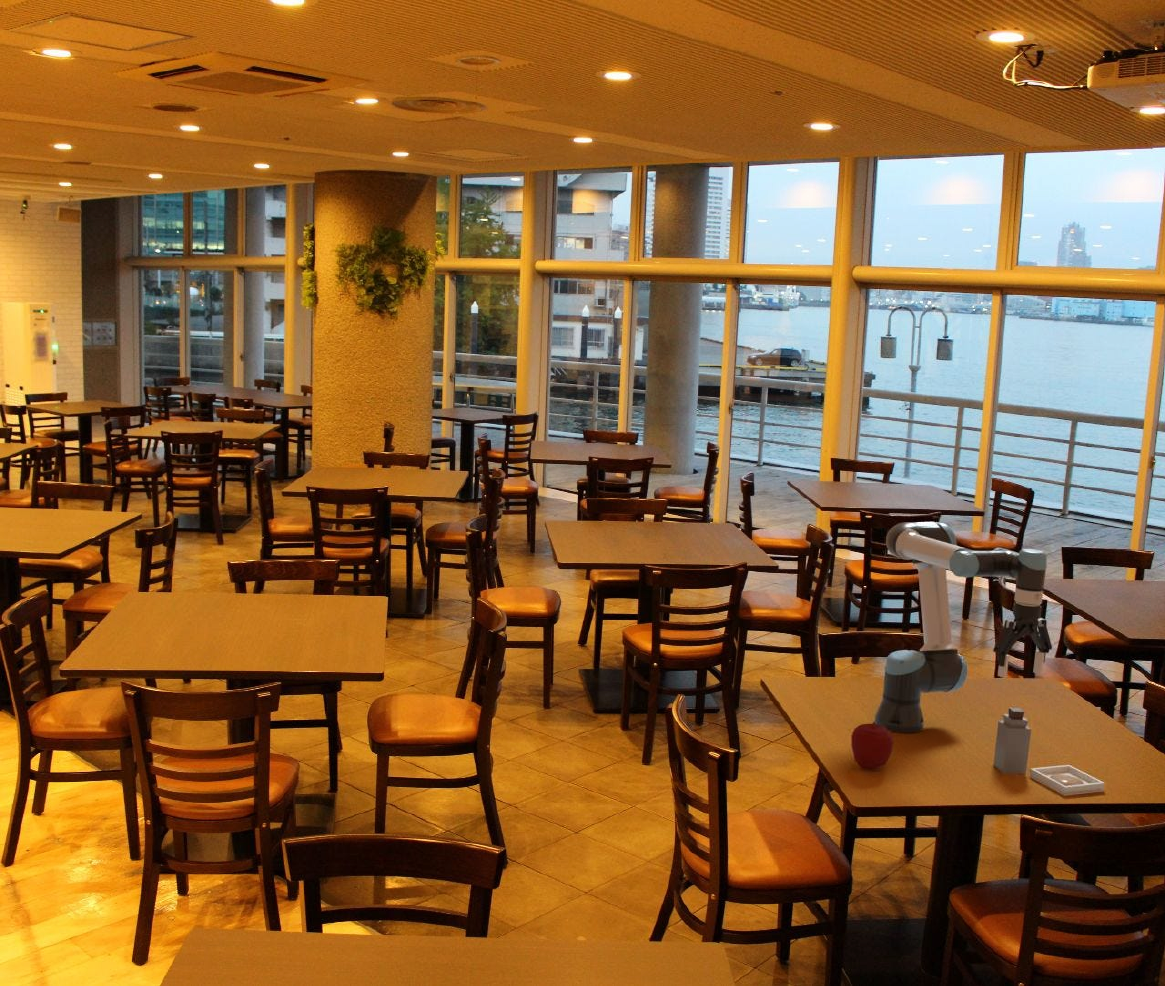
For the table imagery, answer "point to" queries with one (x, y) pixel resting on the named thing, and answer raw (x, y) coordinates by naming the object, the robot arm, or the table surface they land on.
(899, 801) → the table surface
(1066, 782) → the tray
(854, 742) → the apple
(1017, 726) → the perfume bottle
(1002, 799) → the table surface
